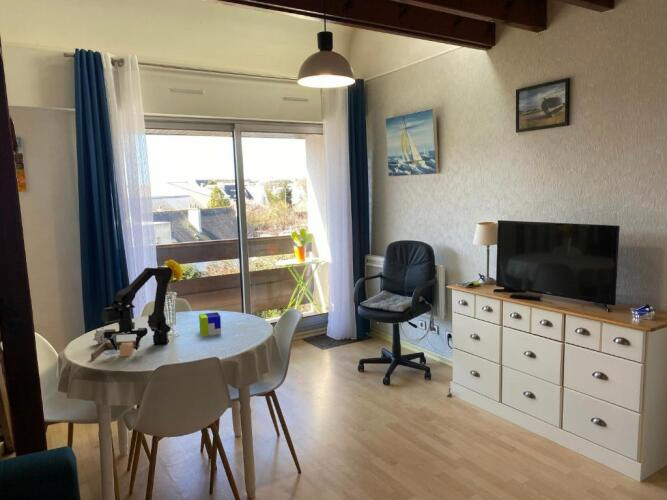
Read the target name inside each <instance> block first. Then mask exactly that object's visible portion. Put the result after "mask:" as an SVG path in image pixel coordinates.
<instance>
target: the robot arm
mask: <svg viewBox="0 0 667 500" xmlns="http://www.w3.org/2000/svg"><path fill="white" fill-rule="evenodd" d="M153 276H154V279H155V281H156V291H155V297H154V306H153V312H152V313H151V314H148V318H147V319H148V320H147V324H148V325H147V326H148V327H149V329H150V331H151V332H153V334H152V341H153V345H154V346H163V345H168V343H169V342H170V339H169V332H171V329H172V328H171V326H170V325H169V324H167V320H166V319H167V318H166V315H165V312H164V311H165V305H166V304H165V303H166V297H167V289H168V284H169V283H170V282H171V279H172V276H173V269H172V268H171V267H170V266H161V265H160V266H157V267H145V268H144V269H143V271H142V272H141V273H140V274H139V275H138V276H137V277H136V278H135V279H134V280H133V281H132V282H131V283H130V284H129V285H128V286H126V287H124V288H123V289H120V290H119V291H118V292H116V294H114V299H113V301H112V303H111V305H110V307H105V308H103V310H102V312H101V315H100V318H101V321H102V322H103V323H104V324H108V323H112V322H117V321H118V322H117V325H118V330H116V329H115V328H113V329H111V328H110V329H107V331H105V332H104V338H107V340H108V341H109V342H111V343H112V345H113V347H114V348H113V349H115V350H116V351H117V350H119V348H118V347H117V342H118V340H117V336H127V335H136V337H135V341H136V347H135V349H136V351H138V349H139V347H140V346H139V343H140V342H141V339H142V338H144V337H146V336H147V334H148V328H147V327H138V328H137V329H135V324H136V323H135V322H134V321H133V318H132V309H134V308H136V306H135V305H134V304H133V301H134V299H135V298H136V294H137V293H138V292H139V291H140V290H141V288H143V286H145V284H146V283H148V281H149V280H150V279H151V278H152V277H153ZM140 344H141V343H140ZM138 346H139V347H138Z"/></svg>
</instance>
